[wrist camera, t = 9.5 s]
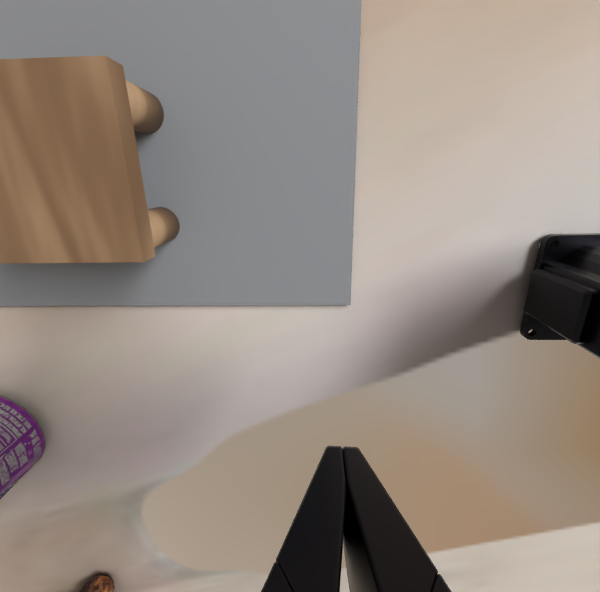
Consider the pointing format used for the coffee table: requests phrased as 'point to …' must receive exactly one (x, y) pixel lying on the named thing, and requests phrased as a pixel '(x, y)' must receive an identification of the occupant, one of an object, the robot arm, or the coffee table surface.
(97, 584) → the lashed bone hook
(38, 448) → the beverage can
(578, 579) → the coffee table surface
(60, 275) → the felt mat
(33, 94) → the stool
